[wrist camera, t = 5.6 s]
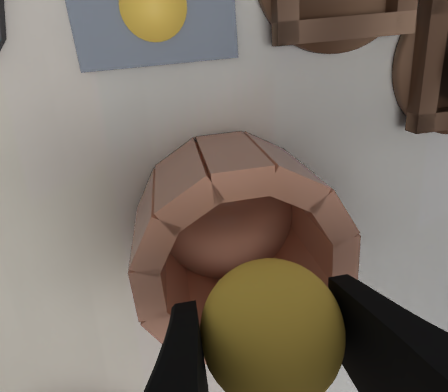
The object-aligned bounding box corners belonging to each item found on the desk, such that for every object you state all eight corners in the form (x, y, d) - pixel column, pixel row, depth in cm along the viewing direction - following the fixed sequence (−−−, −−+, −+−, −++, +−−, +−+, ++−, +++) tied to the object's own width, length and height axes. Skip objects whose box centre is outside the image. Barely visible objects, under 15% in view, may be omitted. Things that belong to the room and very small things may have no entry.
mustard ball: (313, 225, 12) (383, 307, 8) (311, 324, 13) (368, 431, 10) (187, 243, 11) (200, 339, 7) (200, 343, 13) (215, 464, 9)
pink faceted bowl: (308, 123, 16) (366, 153, 12) (307, 274, 19) (353, 345, 15) (124, 145, 15) (109, 187, 11) (154, 300, 18) (152, 384, 14)
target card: (229, -62, 13) (231, -66, 13) (236, 57, 15) (239, 57, 14) (55, -52, 12) (51, -56, 12) (82, 72, 14) (80, 72, 14)
